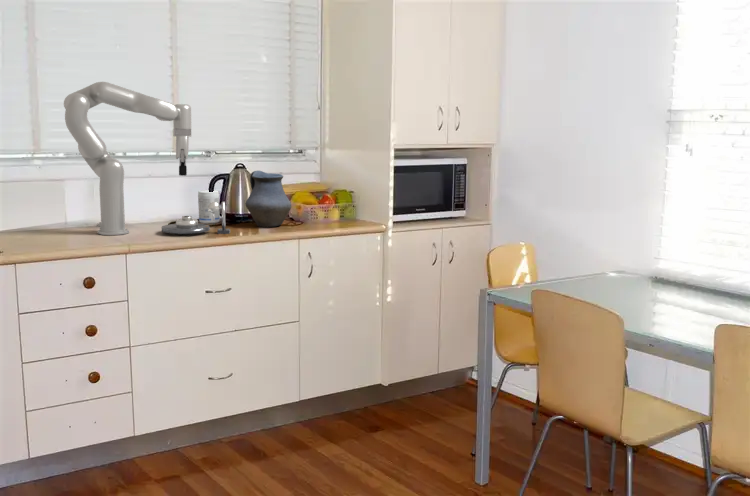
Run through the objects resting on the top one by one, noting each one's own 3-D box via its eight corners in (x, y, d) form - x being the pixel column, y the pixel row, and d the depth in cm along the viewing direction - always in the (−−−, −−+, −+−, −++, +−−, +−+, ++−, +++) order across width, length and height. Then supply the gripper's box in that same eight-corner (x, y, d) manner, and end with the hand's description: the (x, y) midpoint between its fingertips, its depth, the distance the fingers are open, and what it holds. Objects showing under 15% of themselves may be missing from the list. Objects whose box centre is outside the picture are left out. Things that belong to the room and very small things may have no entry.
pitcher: (266, 230, 336) (265, 174, 331) (234, 225, 350) (233, 171, 345) (300, 226, 351) (300, 171, 347) (268, 221, 365) (268, 169, 361)
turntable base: (168, 233, 324) (168, 231, 324) (185, 230, 333) (185, 228, 333) (186, 235, 320) (186, 233, 319) (202, 232, 328) (202, 230, 328)
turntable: (151, 231, 322) (151, 227, 322) (185, 225, 339) (185, 221, 339) (186, 235, 313) (186, 231, 312) (219, 229, 330) (219, 225, 329)
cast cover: (171, 227, 323) (171, 216, 322) (186, 224, 331) (185, 214, 330) (188, 229, 319) (188, 218, 318) (202, 226, 327) (202, 215, 326)
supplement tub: (213, 220, 365) (213, 189, 363) (223, 222, 358) (222, 191, 356) (195, 221, 359) (194, 190, 357) (204, 224, 352) (203, 192, 349)
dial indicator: (230, 232, 331) (229, 201, 328) (229, 233, 326) (228, 202, 324) (209, 232, 330) (208, 201, 327) (208, 233, 325) (207, 202, 323)
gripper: (174, 132, 338) (174, 173, 341) (173, 133, 324) (173, 176, 327) (191, 133, 340) (191, 174, 343) (191, 133, 325) (191, 176, 328)
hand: (182, 175), depth 335 cm, fingers closed
